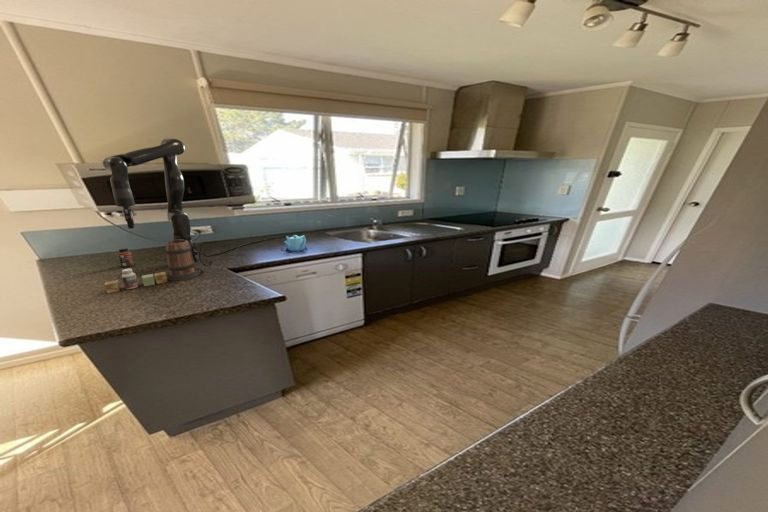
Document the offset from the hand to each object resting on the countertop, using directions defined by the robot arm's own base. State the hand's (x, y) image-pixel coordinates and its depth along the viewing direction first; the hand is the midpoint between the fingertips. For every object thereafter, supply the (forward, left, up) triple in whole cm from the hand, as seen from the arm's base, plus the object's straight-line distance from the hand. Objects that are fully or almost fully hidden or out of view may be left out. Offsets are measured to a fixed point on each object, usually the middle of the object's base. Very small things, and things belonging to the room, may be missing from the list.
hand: (131, 226), depth 155 cm
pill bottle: (+5, +18, -28) cm, 34 cm away
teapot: (-90, +2, -28) cm, 94 cm away
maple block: (-7, +18, -28) cm, 34 cm away
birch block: (+12, +18, -28) cm, 35 cm away
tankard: (-21, +13, -28) cm, 38 cm away
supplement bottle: (+8, -24, -28) cm, 38 cm away
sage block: (-2, +18, -28) cm, 33 cm away
